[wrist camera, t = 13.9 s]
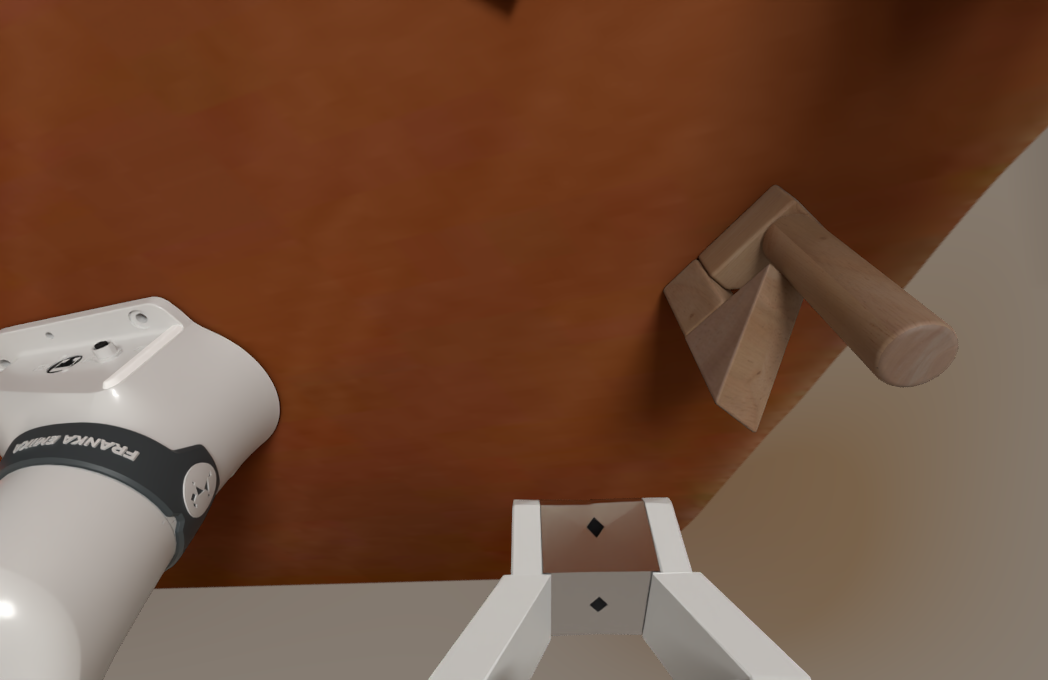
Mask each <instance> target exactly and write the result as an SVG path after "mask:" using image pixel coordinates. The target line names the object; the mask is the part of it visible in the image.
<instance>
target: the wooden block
mask: <svg viewBox="0 0 1048 680" xmlns="http://www.w3.org/2000/svg"><path fill="white" fill-rule="evenodd" d="M699 260H700V261H699ZM699 260H694V261H692V262H691V263H690V264H689V265H688V266H687V267H686V268H685V269H684V270H683V271H682V272H681V273H680V274H679V275H678V276H677V277H675V278H674V279H673V280H672V281H671V282H670V283H669V284H668V285H667V286H666V287H665V288H664V290H663V292H664V294H665V296H666V298H667V300H668V303H669V305H670V307H671V309H672V311H673V313H674V315H675V317H676V319H677V322H678V324H679V326H680V328H681V330H682V332H683V334H684V336H685V340H686V342H687V344H688V346H689V348H690V351H691V353H692V355H693V357H694V359H695V361H696V363H697V365H698V368H699V370H700V372H701V374H702V376H703V378H704V380H705V382H706V385H707V387H708V389H709V391H710V393H711V395H712V397H713V399H714V402H715V404H717V405H718V406H719V407H721V408H722V409H723V410H725V411H726V412H727V413H729V414H730V415H731V416H732V417H734V418H735V419H736V420H738V421H739V422H740V423H742V424H743V425H744V426H746V427H747V428H748V429H750V430H751V431H752V432H756V431H757V429H758V426H759V423H760V420H761V417H762V414H763V412H764V409H765V406H766V403H767V400H768V397H769V395H770V392H771V389H772V386H773V383H774V380H775V378H776V375H777V372H778V369H779V366H780V363H781V361H782V358H783V355H784V352H785V349H786V346H787V344H788V341H789V338H790V335H791V332H792V329H793V327H794V324H795V321H796V318H797V315H798V312H799V310H800V307H801V304H802V301H803V298H804V299H805V300H806V301H807V302H808V303H809V304H810V305H811V306H812V307H813V308H814V310H815V311H816V312H817V313H818V314H819V315H820V316H821V317H822V318H823V319H824V320H825V321H826V322H827V324H828V325H829V326H830V327H831V328H832V329H833V330H834V331H835V332H836V333H837V334H838V335H839V337H840V338H841V339H842V340H843V341H844V342H845V343H846V344H847V345H848V346H849V347H850V348H851V350H852V351H853V352H854V353H855V354H856V355H857V356H858V357H859V358H860V359H861V360H862V361H863V362H864V364H865V365H866V366H867V367H868V368H869V369H870V370H871V371H872V372H873V373H874V374H875V375H876V376H877V377H878V379H880V380H881V381H883V382H885V383H886V384H889V385H892V386H897V387H913V386H917V385H920V384H923V383H926V382H928V381H930V380H932V379H934V378H935V377H937V376H939V375H940V374H941V373H942V372H944V371H945V370H946V369H947V368H948V367H949V365H950V364H951V363H952V361H953V360H954V359H955V356H956V354H957V351H958V339H957V335H956V333H955V332H954V330H953V328H952V327H951V326H950V325H948V324H947V323H946V322H945V321H943V320H942V319H940V318H939V317H938V316H937V315H935V314H934V313H933V312H932V311H930V310H929V309H928V308H926V307H925V306H924V305H923V304H921V303H920V302H919V301H917V300H916V299H915V298H914V297H912V296H911V295H910V294H908V293H907V292H906V291H905V290H903V289H902V288H901V287H899V286H898V285H897V284H896V283H894V282H893V281H892V280H890V279H889V278H888V277H887V276H885V275H884V274H883V273H881V272H880V271H879V270H878V269H876V268H875V267H874V266H872V265H871V264H870V263H869V262H867V261H866V260H865V259H863V258H862V257H861V256H860V255H858V254H857V253H856V252H854V251H853V250H852V249H851V248H849V247H848V246H847V245H845V244H844V243H843V242H842V241H840V240H839V239H838V238H836V237H835V236H834V235H832V234H831V233H830V232H829V231H827V230H826V229H825V228H824V227H823V226H822V225H821V224H820V223H819V222H818V221H817V220H816V219H815V218H814V217H813V215H812V214H811V213H810V212H809V211H808V210H807V209H806V208H805V207H804V206H803V205H802V204H801V203H800V202H799V201H798V200H797V199H795V198H794V197H793V196H791V195H790V194H789V193H787V192H786V191H785V190H783V189H782V188H781V187H779V186H778V185H773V186H772V187H771V188H770V189H769V190H767V191H766V192H765V193H764V194H763V195H762V196H761V197H760V198H759V199H758V200H757V201H756V202H755V203H754V204H753V205H752V206H751V207H750V208H748V209H747V210H746V211H745V212H744V213H743V214H742V215H741V216H740V217H739V218H738V219H737V220H736V221H735V222H734V223H733V224H732V225H731V226H730V227H728V228H727V229H726V230H725V231H724V232H723V233H722V234H721V235H720V236H719V237H718V238H717V239H716V240H715V241H714V242H713V243H712V244H711V245H709V246H708V247H707V248H706V249H705V250H704V251H703V252H702V253H701V254H700V255H699ZM731 289H740V290H738V291H737V292H736V293H735V294H734V295H733V293H732V292H731Z"/></svg>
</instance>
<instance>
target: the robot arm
mask: <svg viewBox="0 0 1048 680" xmlns="http://www.w3.org/2000/svg"><path fill="white" fill-rule="evenodd" d="M142 314H143V315H145V316H146V317H147V318H145V317H144V316H143V315H142ZM279 414H280V406H279V399H278V395H277V392H276V389H275V387H274V385H273V383H272V381H271V379H270V378H269V376H268V375H267V373H266V372H265V370H264V369H263V368H262V367H261V366H260V364H259V363H258V362H257V361H256V360H255V359H254V358H253V357H252V356H251V355H249V354H248V353H247V352H246V351H245V350H243V349H242V348H241V347H239V346H238V345H236V344H235V343H233V342H232V341H230V340H228V339H226V338H224V337H223V336H221V335H219V334H216V333H214V332H212V331H210V330H208V329H205V328H203V327H201V326H200V325H198V324H196V323H194V322H193V321H192V320H191V319H190V318H189V317H187V316H186V315H185V314H184V313H183V312H182V311H181V310H179V309H178V308H177V307H176V306H174V305H173V304H172V303H170V302H169V301H167V300H165V299H163V298H160V297H149V298H144V299H139V300H134V301H130V302H125V303H120V304H115V305H111V306H106V307H101V308H96V309H92V310H87V311H82V312H78V313H73V314H68V315H63V316H59V317H54V318H49V319H45V320H40V321H35V322H30V323H26V324H21V325H16V326H12V327H7V328H4V329H1V330H0V455H1V456H2V460H1V462H0V680H103V679H104V677H105V675H106V672H107V671H108V669H109V667H110V664H111V662H112V661H113V659H114V657H115V655H116V653H117V651H118V649H119V648H120V646H121V644H122V642H123V641H124V639H125V637H126V636H127V634H128V632H129V630H130V629H131V627H132V625H133V623H134V622H135V620H136V618H137V616H138V615H139V613H140V611H141V609H142V608H143V606H144V604H145V603H146V601H147V599H148V598H149V596H150V594H151V592H152V591H153V589H154V588H155V586H156V584H157V583H158V581H159V579H160V578H161V576H162V574H163V572H164V571H166V570H168V569H169V568H171V567H172V566H173V565H174V564H175V563H176V562H177V561H178V560H179V558H180V557H181V555H182V554H183V552H184V551H185V549H186V548H187V546H188V545H189V543H190V542H191V540H192V539H193V537H194V536H195V534H196V532H197V531H198V529H199V527H200V526H201V524H202V523H203V521H204V519H205V517H206V515H207V513H208V511H209V509H210V507H211V505H212V502H213V500H214V498H215V495H216V494H217V493H218V492H219V490H220V489H221V488H222V487H223V485H224V484H225V483H226V482H227V481H228V479H229V478H231V477H232V476H233V475H234V474H235V472H236V471H237V470H238V469H239V467H240V466H241V464H242V463H243V462H244V461H245V460H246V459H247V458H248V457H249V456H250V455H251V454H252V453H253V452H254V451H255V450H256V449H257V448H258V447H259V446H261V445H262V444H263V443H264V442H265V441H266V440H267V439H268V438H269V437H270V436H271V435H272V433H273V432H274V430H275V428H276V426H277V424H278V420H279ZM582 634H583V635H584V634H634V635H637V634H638V635H643V636H642V637H643V639H644V640H645V641H646V643H647V644H648V645H649V647H650V648H651V650H652V651H653V652H654V654H655V655H656V656H657V658H658V659H659V660H660V662H661V663H662V665H663V666H664V667H665V669H666V670H667V671H668V673H669V674H670V675H671V677H672V678H673V680H811V678H810V677H809V675H807V674H806V673H805V672H804V671H803V670H802V669H801V668H800V667H799V666H798V665H797V664H796V663H795V662H794V661H793V660H792V659H791V658H790V657H789V656H788V655H787V654H785V653H784V652H783V651H782V650H781V649H780V648H779V647H778V646H777V645H776V644H775V643H774V642H773V641H772V640H771V639H770V638H769V637H768V636H767V635H766V634H765V633H763V631H761V630H760V629H759V628H758V627H757V626H756V625H755V624H754V623H753V622H752V621H751V620H750V619H749V618H748V617H747V616H746V615H745V614H744V613H743V612H742V611H741V610H740V609H738V608H737V607H736V606H735V605H734V604H733V603H732V602H731V601H730V600H729V599H728V598H727V597H726V596H725V595H724V594H723V593H722V592H721V591H720V590H719V589H717V588H716V587H715V586H714V585H713V584H712V583H711V582H710V581H709V580H708V579H707V578H706V577H705V576H704V575H703V574H702V573H701V572H692V569H691V566H690V563H689V559H688V556H687V553H686V549H685V546H684V542H683V539H682V536H681V532H680V529H679V526H678V522H677V519H676V515H675V512H674V509H673V505H672V502H671V501H670V499H669V498H642V499H641V498H614V499H590V500H540V502H539V500H514V501H513V507H512V557H511V575H503V576H502V578H501V579H500V580H499V582H498V583H497V585H496V586H495V587H494V589H493V590H492V592H491V593H490V594H489V596H488V597H487V598H486V600H485V601H484V603H483V604H482V605H481V607H480V608H479V610H478V611H477V612H476V614H475V615H474V617H473V618H472V619H471V621H470V622H469V624H468V625H467V626H466V628H465V629H464V630H463V632H462V633H461V635H460V636H459V638H458V639H457V640H456V642H455V643H454V644H453V646H452V647H451V648H450V650H449V651H448V653H447V654H446V655H445V657H444V658H443V660H442V661H441V662H440V664H439V665H438V666H437V668H436V669H435V671H434V672H433V673H432V675H431V676H430V678H429V679H428V680H530V679H531V677H532V675H533V673H534V671H535V669H536V667H537V665H538V663H539V661H540V659H541V657H542V656H543V654H544V652H545V650H546V648H547V646H548V644H549V642H550V640H551V636H560V635H582Z"/></svg>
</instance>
